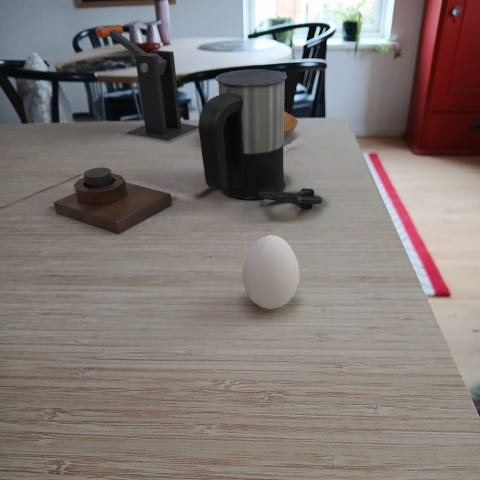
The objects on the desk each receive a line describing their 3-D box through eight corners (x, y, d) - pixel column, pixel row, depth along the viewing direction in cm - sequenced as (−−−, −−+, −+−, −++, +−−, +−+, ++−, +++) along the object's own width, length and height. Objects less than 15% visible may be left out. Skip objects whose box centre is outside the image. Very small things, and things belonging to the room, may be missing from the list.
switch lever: (95, 38, 89) (97, 24, 88) (116, 34, 93) (118, 20, 91) (150, 78, 87) (152, 65, 85) (169, 72, 90) (172, 59, 88)
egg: (309, 307, 49) (313, 238, 45) (266, 328, 47) (265, 258, 42) (275, 284, 53) (275, 218, 48) (233, 302, 50) (229, 235, 46)
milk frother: (235, 173, 78) (230, 66, 70) (338, 183, 74) (346, 70, 65) (196, 211, 68) (184, 91, 59) (313, 226, 63) (319, 98, 54)
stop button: (80, 186, 68) (77, 174, 67) (100, 178, 70) (98, 165, 69) (99, 192, 66) (96, 179, 65) (119, 182, 69) (116, 170, 68)
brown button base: (56, 213, 69) (49, 189, 67) (110, 188, 75) (106, 165, 73) (119, 234, 63) (113, 208, 61) (172, 205, 70) (169, 180, 68)
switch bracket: (128, 138, 95) (114, 55, 86) (160, 125, 100) (150, 47, 92) (168, 147, 90) (158, 59, 82) (200, 133, 96) (193, 50, 87)
